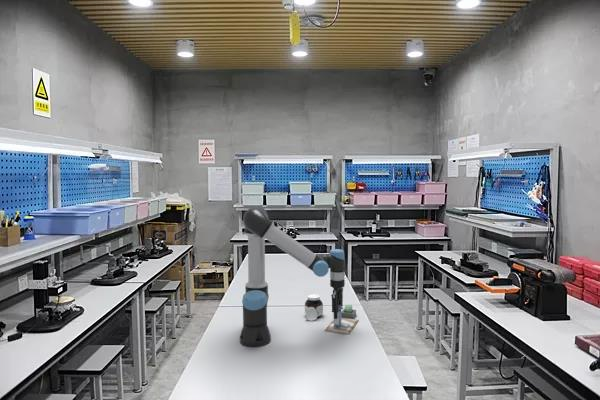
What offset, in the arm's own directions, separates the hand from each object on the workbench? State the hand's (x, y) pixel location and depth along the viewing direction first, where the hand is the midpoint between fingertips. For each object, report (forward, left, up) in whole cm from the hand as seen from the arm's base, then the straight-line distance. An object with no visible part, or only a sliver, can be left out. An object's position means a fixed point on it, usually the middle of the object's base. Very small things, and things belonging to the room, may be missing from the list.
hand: (337, 322), depth 214 cm
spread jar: (+10, +17, -3) cm, 20 cm away
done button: (+18, -1, -1) cm, 18 cm away
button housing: (+18, -1, -3) cm, 18 cm away
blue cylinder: (0, 0, -2) cm, 2 cm away
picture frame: (+4, -2, -3) cm, 5 cm away
